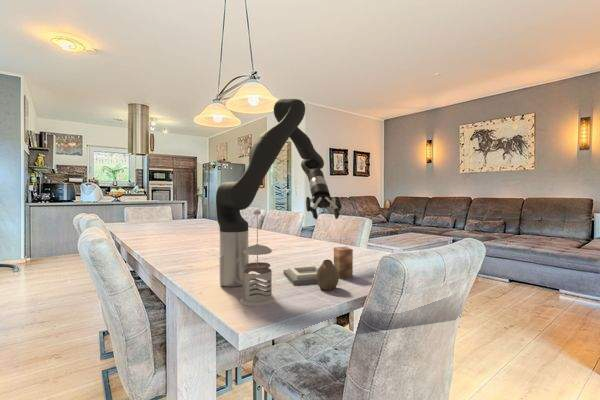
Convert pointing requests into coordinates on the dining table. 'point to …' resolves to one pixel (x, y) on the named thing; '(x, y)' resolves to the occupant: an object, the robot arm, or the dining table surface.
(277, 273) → the dining table surface
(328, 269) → the vase
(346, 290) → the dining table surface
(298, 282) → the pocket board
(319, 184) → the robot arm
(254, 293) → the french press
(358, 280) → the dining table surface
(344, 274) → the copper rectangular block
